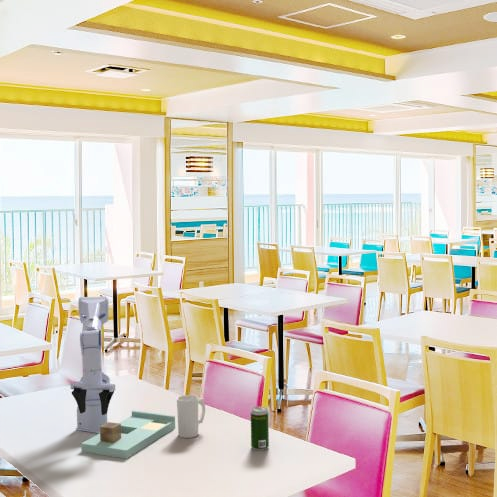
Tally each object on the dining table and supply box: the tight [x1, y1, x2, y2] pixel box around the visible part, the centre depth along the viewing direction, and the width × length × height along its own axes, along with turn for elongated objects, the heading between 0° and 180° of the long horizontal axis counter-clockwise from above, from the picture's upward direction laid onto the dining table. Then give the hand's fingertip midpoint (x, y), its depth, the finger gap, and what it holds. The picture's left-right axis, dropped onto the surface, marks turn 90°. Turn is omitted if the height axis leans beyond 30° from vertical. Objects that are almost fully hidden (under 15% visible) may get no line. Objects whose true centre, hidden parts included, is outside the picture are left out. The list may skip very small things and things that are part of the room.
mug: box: [176, 394, 206, 439], centre depth 228 cm, size 10×7×12 cm, turn 128°
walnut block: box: [99, 421, 121, 443], centre depth 217 cm, size 4×4×4 cm
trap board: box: [80, 410, 176, 460], centre depth 224 cm, size 16×29×4 cm, turn 157°
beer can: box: [250, 406, 270, 452], centre depth 215 cm, size 5×5×12 cm
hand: (93, 413), depth 218 cm, fingers open, 7 cm apart
